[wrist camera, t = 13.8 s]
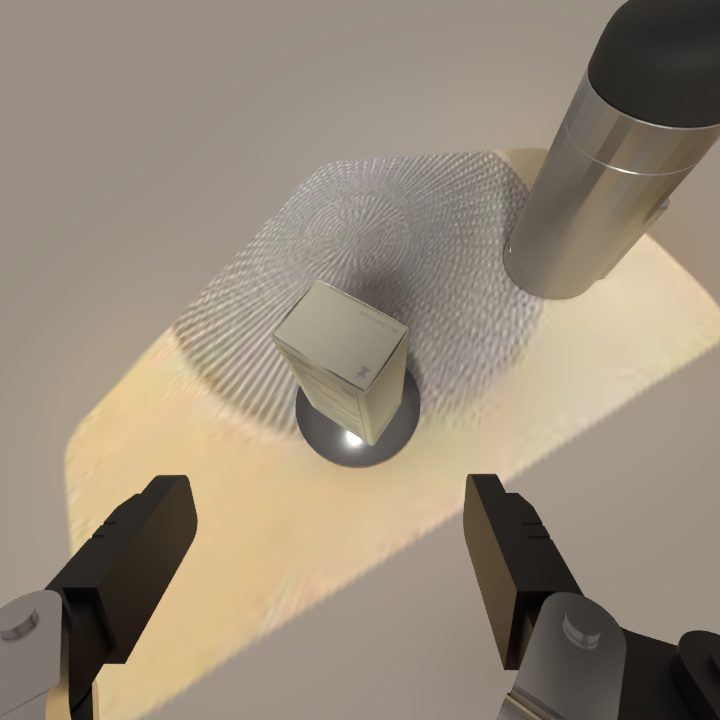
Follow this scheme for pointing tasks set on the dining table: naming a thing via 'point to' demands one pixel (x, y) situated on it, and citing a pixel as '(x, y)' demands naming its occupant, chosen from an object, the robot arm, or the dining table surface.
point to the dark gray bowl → (348, 447)
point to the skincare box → (345, 358)
